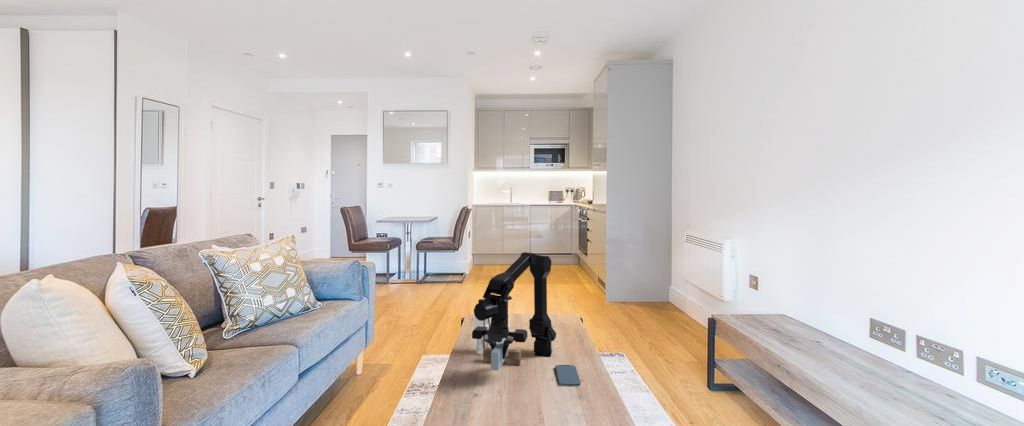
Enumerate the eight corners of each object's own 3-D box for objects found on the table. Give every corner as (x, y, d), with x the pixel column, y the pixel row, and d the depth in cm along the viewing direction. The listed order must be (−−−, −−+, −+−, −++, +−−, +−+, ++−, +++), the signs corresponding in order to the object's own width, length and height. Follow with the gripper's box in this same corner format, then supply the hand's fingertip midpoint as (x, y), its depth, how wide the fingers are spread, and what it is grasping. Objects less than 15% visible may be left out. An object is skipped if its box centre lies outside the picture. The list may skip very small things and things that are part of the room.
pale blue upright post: (507, 355, 155) (507, 339, 155) (498, 370, 141) (498, 352, 141) (500, 354, 155) (500, 338, 155) (491, 369, 142) (491, 352, 141)
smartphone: (558, 383, 141) (554, 364, 156) (558, 388, 141) (554, 368, 156) (581, 384, 141) (575, 364, 155) (581, 389, 141) (575, 369, 156)
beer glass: (489, 356, 167) (489, 318, 166) (472, 354, 168) (472, 317, 168) (493, 349, 174) (493, 313, 173) (477, 348, 175) (477, 312, 175)
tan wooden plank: (520, 363, 160) (520, 350, 160) (519, 365, 158) (519, 352, 157) (484, 360, 163) (484, 347, 163) (483, 362, 160) (483, 349, 160)
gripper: (466, 318, 142) (466, 365, 142) (521, 322, 138) (521, 370, 138) (476, 310, 153) (476, 353, 153) (527, 313, 149) (527, 357, 149)
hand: (499, 358), depth 148 cm, fingers closed on pale blue upright post, 2 cm apart
